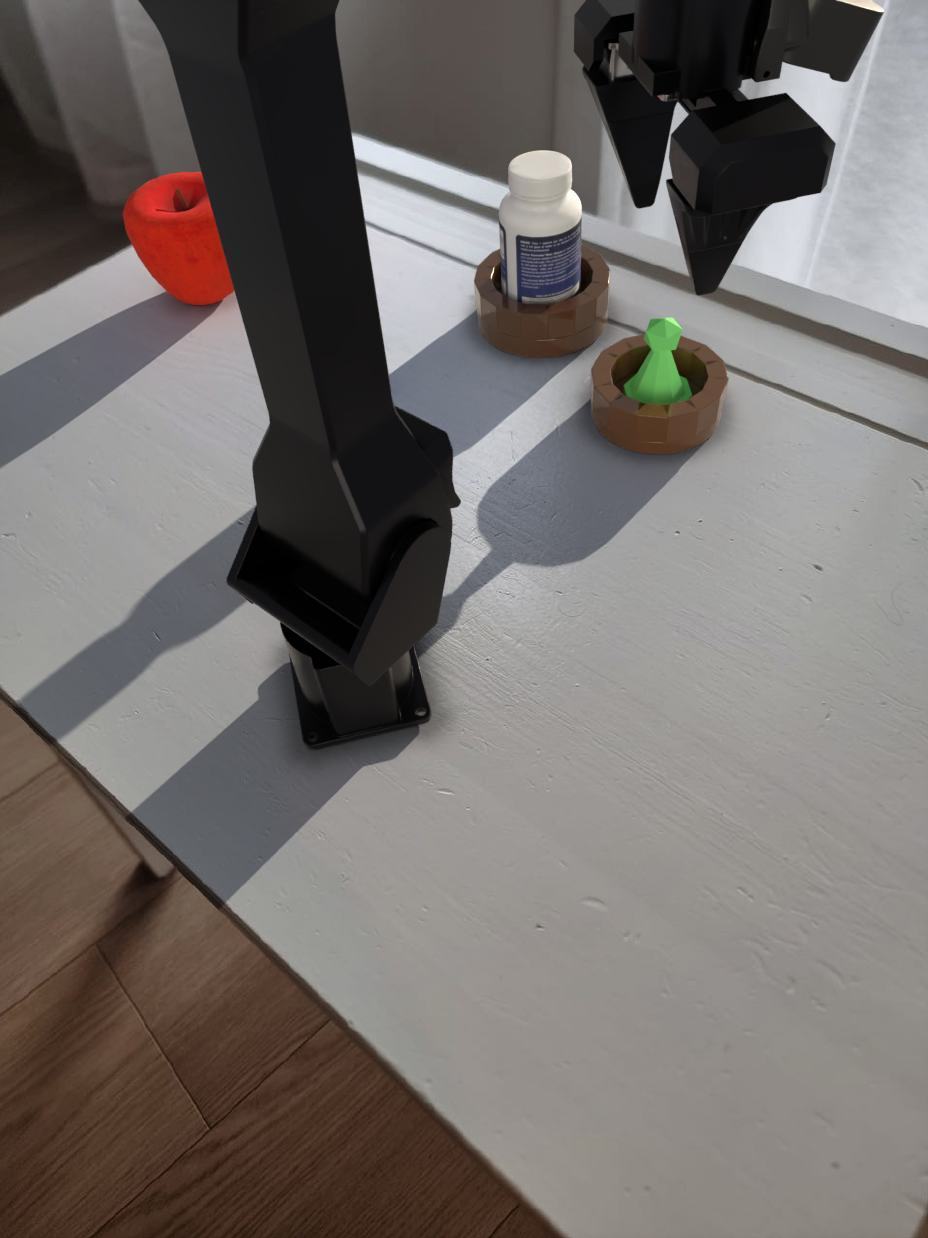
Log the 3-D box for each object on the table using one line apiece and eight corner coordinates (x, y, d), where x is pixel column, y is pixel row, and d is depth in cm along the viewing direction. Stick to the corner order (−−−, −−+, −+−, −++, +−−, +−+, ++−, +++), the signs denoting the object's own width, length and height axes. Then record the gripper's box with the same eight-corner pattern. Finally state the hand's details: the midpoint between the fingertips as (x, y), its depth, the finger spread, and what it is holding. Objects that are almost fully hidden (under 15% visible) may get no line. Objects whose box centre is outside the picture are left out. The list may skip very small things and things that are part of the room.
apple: (287, 267, 77) (265, 169, 71) (227, 332, 72) (198, 232, 66) (191, 249, 80) (162, 152, 74) (127, 310, 75) (90, 212, 69)
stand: (625, 343, 68) (628, 298, 66) (496, 369, 68) (493, 325, 65) (584, 272, 74) (585, 228, 71) (464, 295, 73) (461, 252, 71)
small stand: (742, 438, 62) (750, 400, 59) (613, 466, 61) (615, 428, 58) (693, 361, 67) (698, 322, 64) (573, 386, 66) (573, 348, 64)
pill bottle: (596, 299, 69) (601, 161, 62) (542, 334, 67) (541, 195, 60) (540, 271, 72) (539, 135, 64) (486, 303, 70) (479, 167, 62)
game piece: (705, 406, 62) (717, 324, 57) (646, 430, 61) (654, 348, 56) (665, 370, 65) (674, 288, 60) (609, 392, 64) (613, 311, 59)
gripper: (1003, -43, 38) (893, 313, 50) (789, -170, 49) (742, 144, 61) (725, 6, 37) (681, 357, 49) (573, -136, 48) (568, 177, 60)
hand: (672, 247), depth 55 cm, fingers open, 9 cm apart
